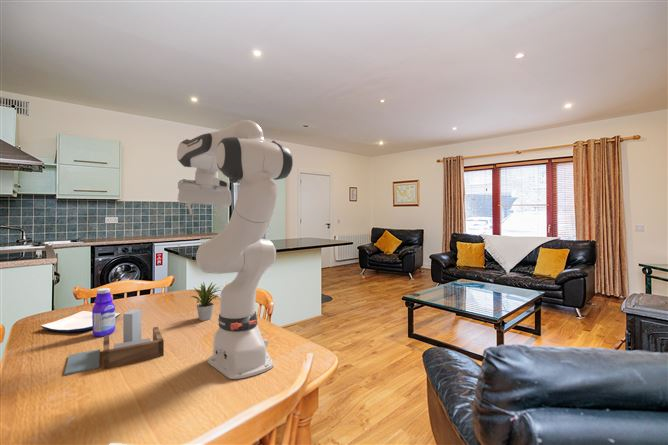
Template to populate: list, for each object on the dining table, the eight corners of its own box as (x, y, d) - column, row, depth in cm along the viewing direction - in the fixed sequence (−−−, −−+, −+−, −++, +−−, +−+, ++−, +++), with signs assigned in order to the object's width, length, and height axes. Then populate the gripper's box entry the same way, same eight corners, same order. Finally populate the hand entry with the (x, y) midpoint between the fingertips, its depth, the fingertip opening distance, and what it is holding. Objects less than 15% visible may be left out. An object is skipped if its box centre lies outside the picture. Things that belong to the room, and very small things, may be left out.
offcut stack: (155, 355, 104) (155, 341, 104) (111, 364, 97) (111, 349, 97) (154, 350, 107) (154, 336, 107) (111, 359, 101) (111, 344, 100)
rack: (163, 355, 103) (163, 340, 103) (103, 368, 94) (103, 352, 94) (157, 340, 115) (157, 326, 115) (103, 350, 106) (103, 336, 106)
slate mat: (99, 367, 94) (99, 365, 94) (64, 375, 90) (64, 373, 90) (100, 350, 106) (100, 349, 106) (69, 356, 101) (69, 355, 101)
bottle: (101, 338, 116) (101, 291, 115) (88, 336, 117) (88, 290, 116) (118, 331, 123) (118, 287, 122) (106, 329, 124) (106, 286, 124)
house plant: (214, 325, 131) (214, 286, 130) (181, 324, 131) (181, 286, 130) (226, 314, 145) (227, 279, 144) (197, 313, 145) (197, 278, 145)
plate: (125, 318, 139) (125, 312, 139) (83, 336, 118) (83, 329, 118) (82, 315, 141) (82, 310, 141) (35, 333, 121) (35, 326, 120)
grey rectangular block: (141, 346, 110) (141, 309, 109) (132, 352, 105) (132, 314, 104) (132, 346, 110) (132, 309, 109) (123, 352, 105) (123, 314, 104)
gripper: (179, 177, 120) (176, 213, 119) (233, 184, 130) (231, 217, 129) (177, 179, 125) (175, 214, 124) (229, 186, 136) (228, 217, 135)
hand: (204, 215), depth 127 cm, fingers open, 8 cm apart
